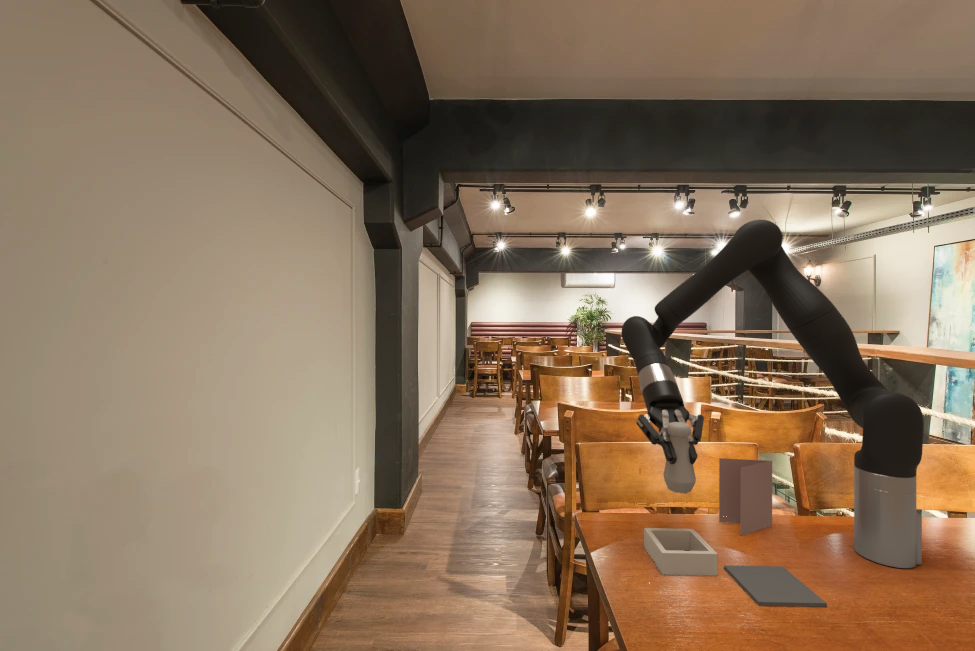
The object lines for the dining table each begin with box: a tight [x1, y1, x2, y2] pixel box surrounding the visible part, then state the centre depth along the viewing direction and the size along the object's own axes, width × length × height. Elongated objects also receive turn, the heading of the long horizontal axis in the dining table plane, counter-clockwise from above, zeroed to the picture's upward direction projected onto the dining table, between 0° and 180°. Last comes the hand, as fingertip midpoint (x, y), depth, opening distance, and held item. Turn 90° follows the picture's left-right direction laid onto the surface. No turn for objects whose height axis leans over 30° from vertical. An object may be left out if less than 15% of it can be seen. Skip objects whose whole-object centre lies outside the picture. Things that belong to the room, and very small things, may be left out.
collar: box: [643, 527, 718, 577], centre depth 85 cm, size 10×10×4 cm
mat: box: [723, 565, 828, 608], centre depth 77 cm, size 11×11×1 cm
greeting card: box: [718, 457, 773, 537], centre depth 99 cm, size 11×7×15 cm, turn 81°
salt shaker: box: [663, 422, 697, 494], centre depth 85 cm, size 6×6×13 cm
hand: (683, 462), depth 83 cm, fingers closed on salt shaker, 3 cm apart
